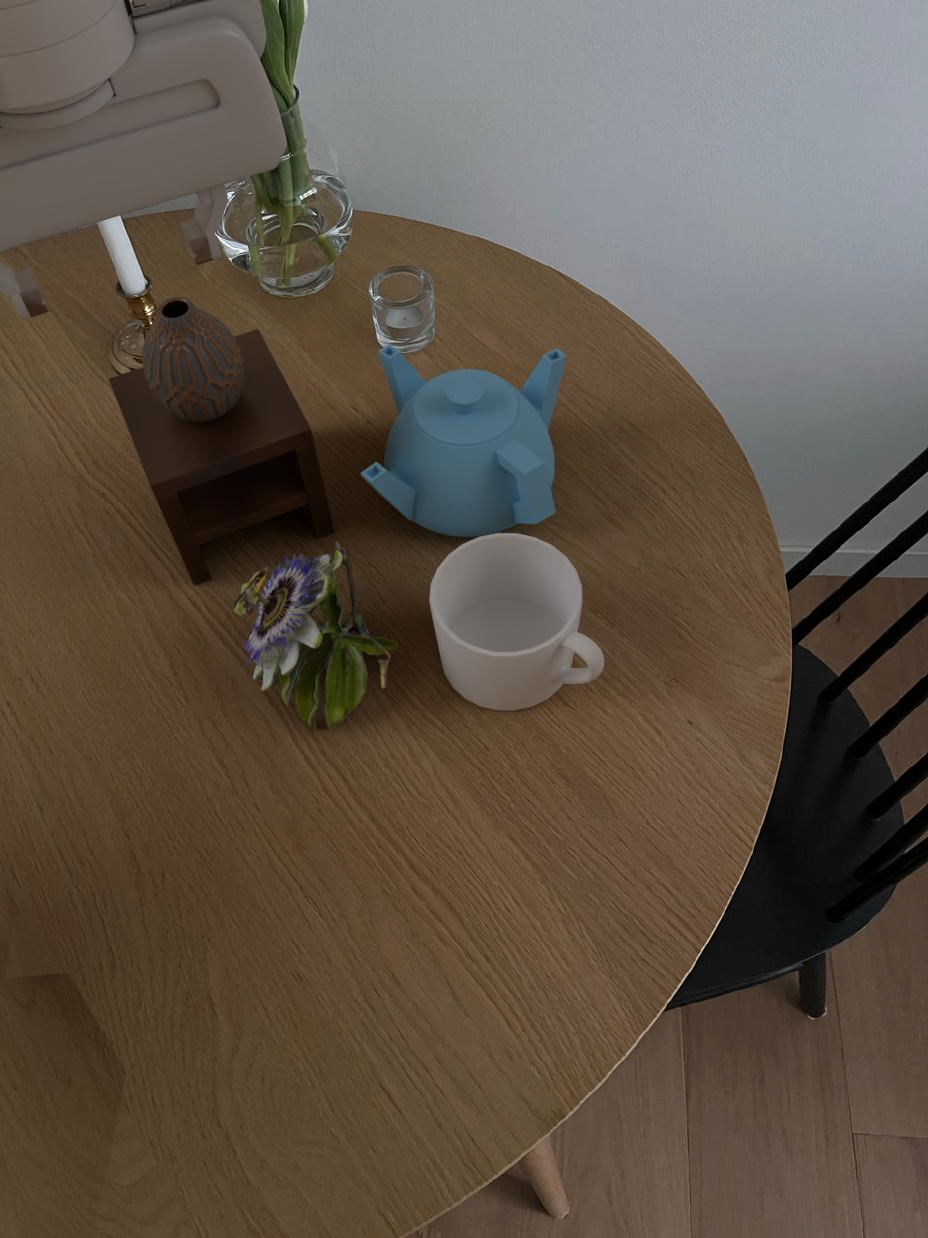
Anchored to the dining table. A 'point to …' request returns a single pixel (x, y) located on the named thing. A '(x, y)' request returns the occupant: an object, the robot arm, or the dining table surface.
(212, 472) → the stand
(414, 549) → the dining table surface
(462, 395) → the teapot
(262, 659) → the passion flower
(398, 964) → the dining table surface
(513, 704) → the mug
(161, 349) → the vase
